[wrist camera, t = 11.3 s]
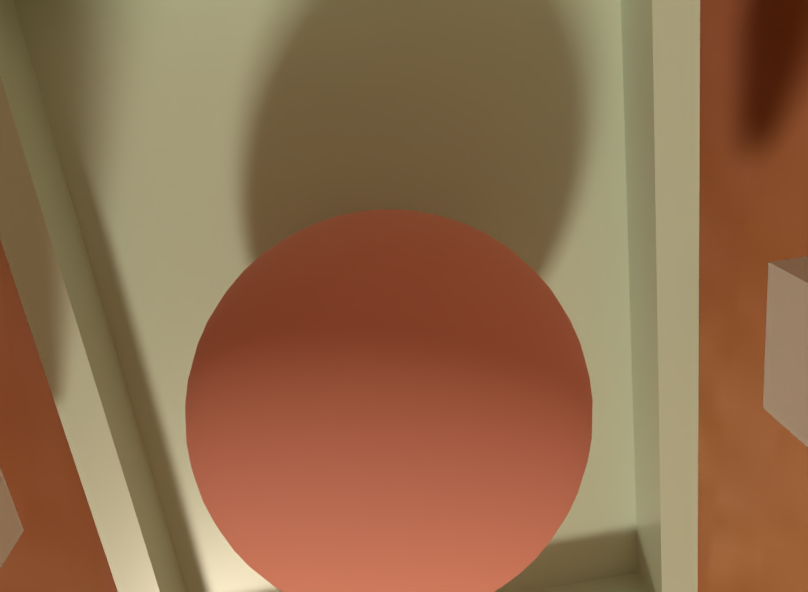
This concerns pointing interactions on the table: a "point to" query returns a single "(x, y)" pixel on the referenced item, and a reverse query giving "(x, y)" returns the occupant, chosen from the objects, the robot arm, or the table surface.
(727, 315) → the table surface
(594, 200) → the tray
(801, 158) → the table surface
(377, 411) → the ball
